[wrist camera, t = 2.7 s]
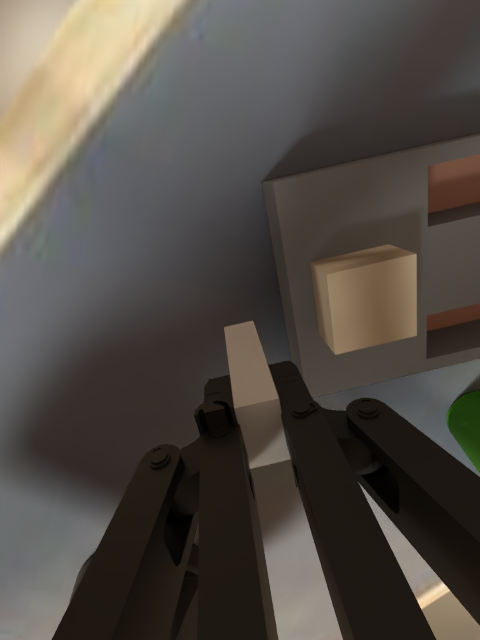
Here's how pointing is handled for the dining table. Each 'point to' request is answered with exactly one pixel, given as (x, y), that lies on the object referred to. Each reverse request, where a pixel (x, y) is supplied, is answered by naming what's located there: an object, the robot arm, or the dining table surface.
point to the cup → (467, 425)
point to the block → (366, 297)
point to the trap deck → (377, 230)
